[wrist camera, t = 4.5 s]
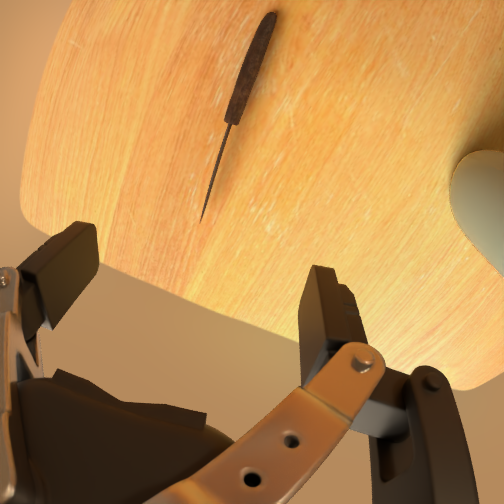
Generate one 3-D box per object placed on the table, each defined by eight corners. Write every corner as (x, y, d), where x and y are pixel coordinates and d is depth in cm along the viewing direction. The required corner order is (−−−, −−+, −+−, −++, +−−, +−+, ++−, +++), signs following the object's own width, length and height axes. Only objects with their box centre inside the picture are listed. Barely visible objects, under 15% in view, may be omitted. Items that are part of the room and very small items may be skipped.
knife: (209, 220, 24) (204, 231, 22) (196, 216, 24) (189, 226, 22) (280, 15, 16) (281, 8, 14) (265, 11, 16) (264, 3, 14)
